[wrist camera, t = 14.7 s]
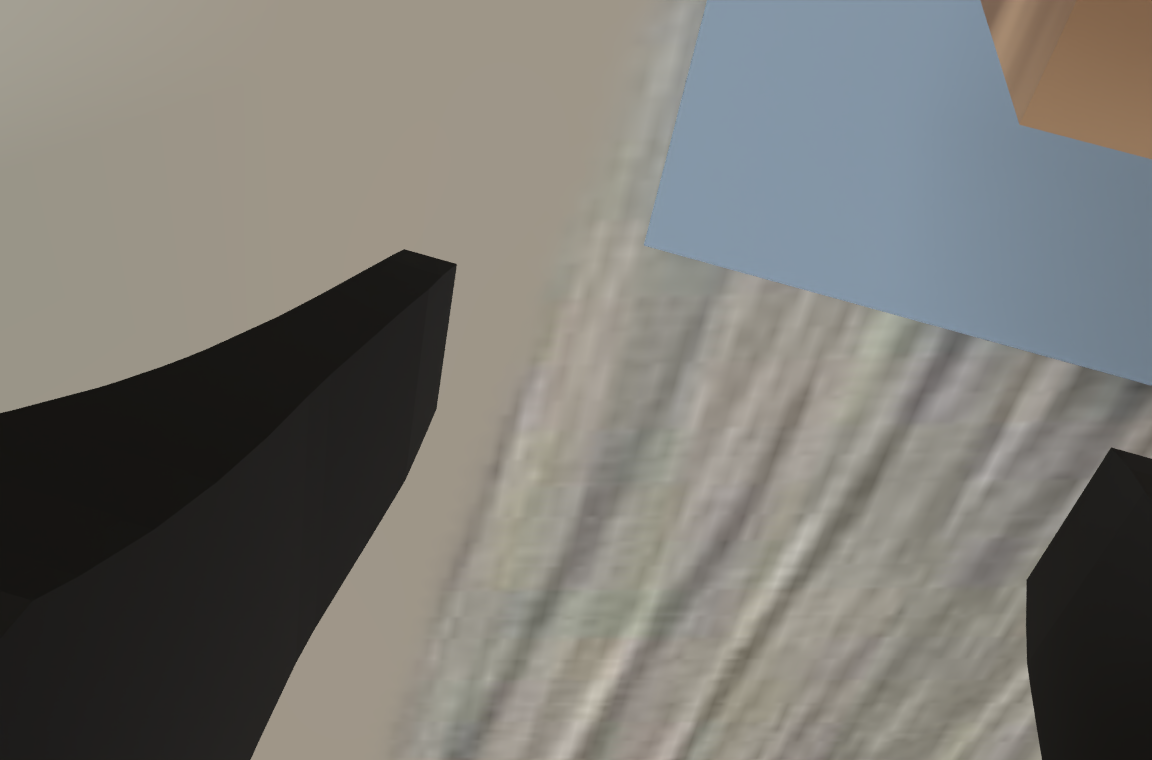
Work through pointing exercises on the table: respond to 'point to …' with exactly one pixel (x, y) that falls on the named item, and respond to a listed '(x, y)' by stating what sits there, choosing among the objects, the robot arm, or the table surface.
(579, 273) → the table surface
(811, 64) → the slate mat
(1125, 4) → the walnut block
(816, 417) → the table surface
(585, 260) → the table surface
